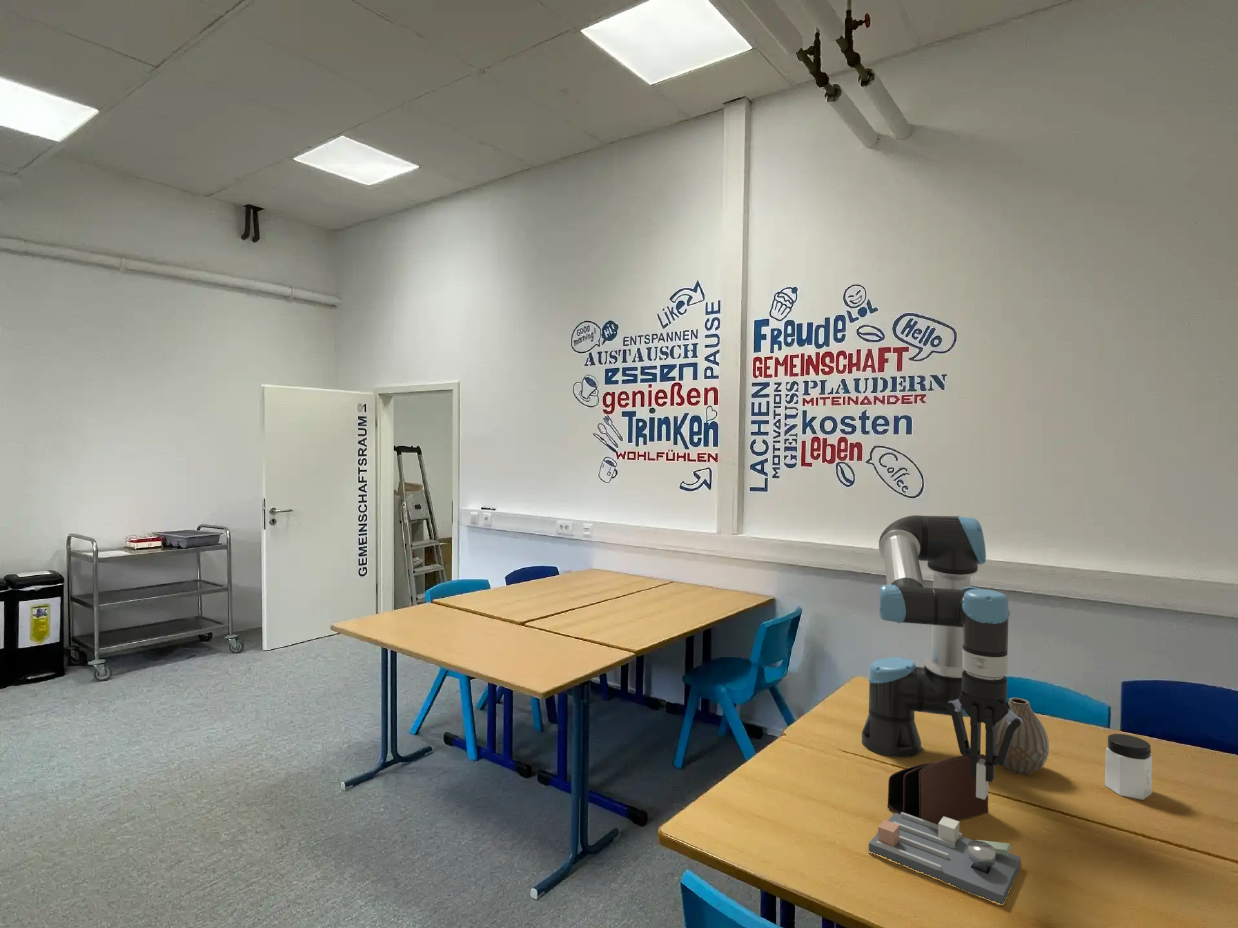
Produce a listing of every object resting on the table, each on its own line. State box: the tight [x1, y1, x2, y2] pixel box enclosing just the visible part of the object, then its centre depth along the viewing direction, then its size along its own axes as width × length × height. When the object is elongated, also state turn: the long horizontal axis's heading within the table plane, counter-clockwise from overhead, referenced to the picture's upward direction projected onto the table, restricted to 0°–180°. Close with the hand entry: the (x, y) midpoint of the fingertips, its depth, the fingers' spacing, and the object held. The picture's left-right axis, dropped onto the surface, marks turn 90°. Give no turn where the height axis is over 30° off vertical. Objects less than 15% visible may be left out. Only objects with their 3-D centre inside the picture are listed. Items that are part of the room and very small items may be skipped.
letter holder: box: [887, 753, 989, 825], centre depth 151 cm, size 10×20×14 cm, turn 111°
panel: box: [868, 812, 1022, 904], centre depth 133 cm, size 24×15×4 cm, turn 49°
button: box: [968, 839, 995, 874], centre depth 128 cm, size 5×5×5 cm
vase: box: [996, 697, 1050, 776], centre depth 171 cm, size 13×13×18 cm
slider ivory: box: [938, 816, 960, 843], centre depth 136 cm, size 3×4×3 cm
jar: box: [1104, 733, 1153, 801], centre depth 160 cm, size 9×8×12 cm
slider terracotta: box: [877, 819, 900, 847], centre depth 135 cm, size 3×4×3 cm
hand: (982, 795), depth 128 cm, fingers closed
